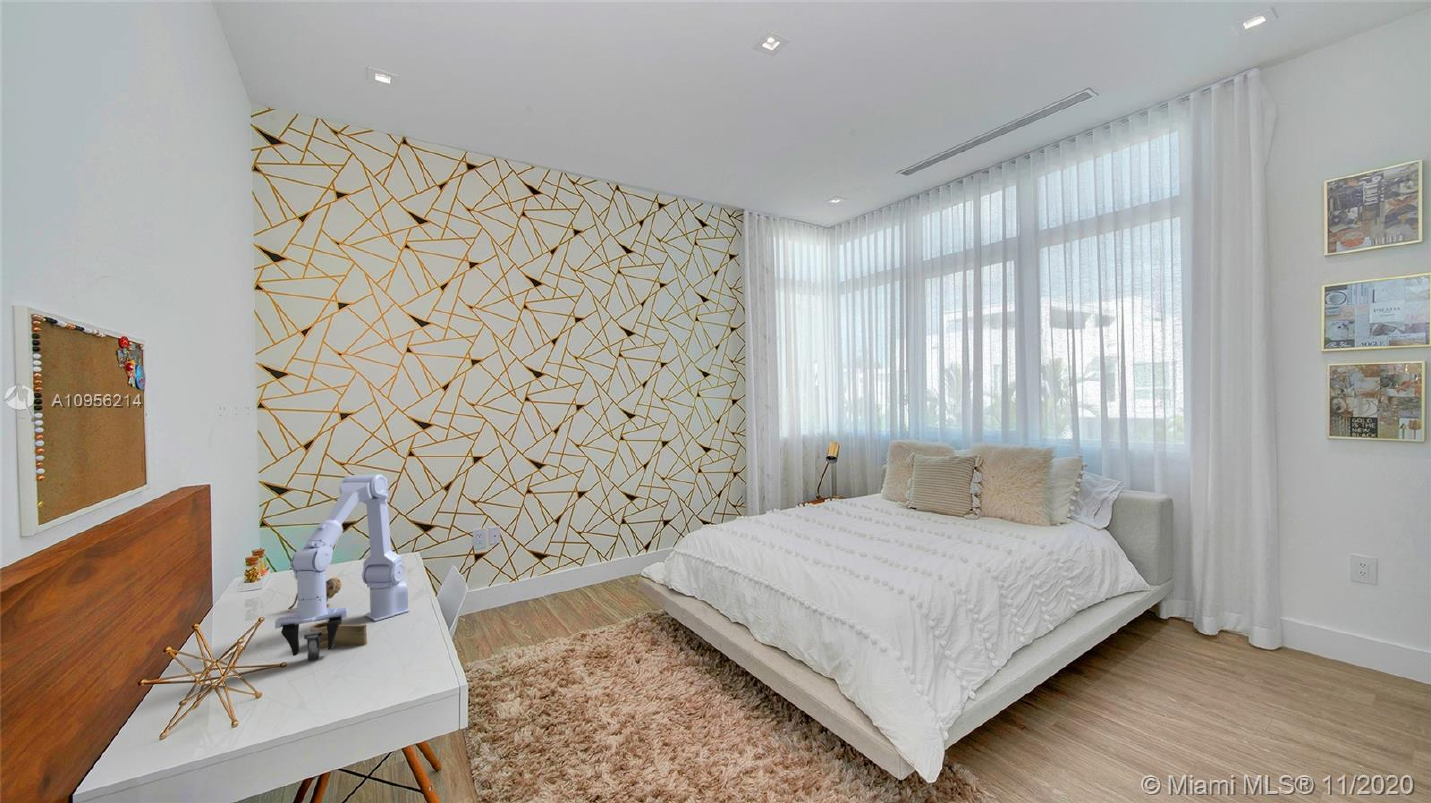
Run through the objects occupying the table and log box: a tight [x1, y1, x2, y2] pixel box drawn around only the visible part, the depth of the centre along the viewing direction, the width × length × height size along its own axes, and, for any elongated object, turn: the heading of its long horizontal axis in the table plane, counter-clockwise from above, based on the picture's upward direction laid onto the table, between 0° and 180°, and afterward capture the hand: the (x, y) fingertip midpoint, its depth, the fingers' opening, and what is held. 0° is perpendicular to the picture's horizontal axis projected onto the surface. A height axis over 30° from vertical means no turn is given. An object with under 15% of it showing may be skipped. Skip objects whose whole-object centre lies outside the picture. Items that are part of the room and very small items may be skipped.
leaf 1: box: [319, 619, 343, 641], centre depth 147 cm, size 14×5×4 cm, turn 16°
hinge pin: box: [303, 630, 322, 662], centre depth 134 cm, size 4×4×6 cm
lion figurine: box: [287, 577, 342, 610], centre depth 169 cm, size 15×5×9 cm, turn 103°
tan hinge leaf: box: [309, 620, 368, 649], centre depth 142 cm, size 14×5×5 cm, turn 86°
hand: (313, 650), depth 134 cm, fingers open, 6 cm apart
